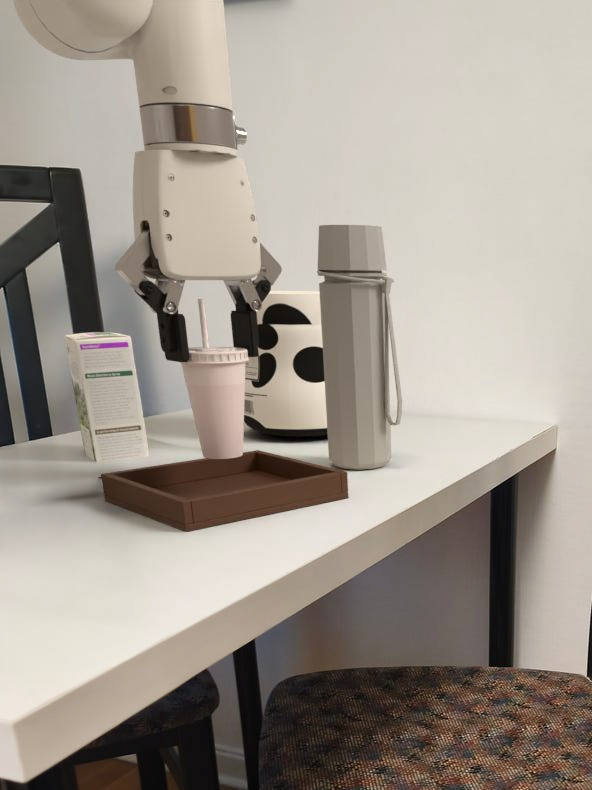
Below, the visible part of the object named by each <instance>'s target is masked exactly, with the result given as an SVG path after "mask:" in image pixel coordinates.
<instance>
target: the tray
mask: <svg viewBox="0 0 592 790" xmlns="http://www.w3.org/2000/svg"><path fill="white" fill-rule="evenodd" d="M100 477H101V485H102V492H103V499H104V501H105V502H108V503H110V504H113V505H116V506H119V507H121V508H122V509H123V508H124V509H126V510H129V511H130V512H131V511H132V512H133V513H137V514H139V515H142V516H145V517H147V518H150V519H152V520H155V521H157V522H160V523H162V524H165V525H168V526H170V527H173V528H175V529H177V530H181V531H184V532H191V531H195V530H201V529H205V528H206V529H207V528H210V527H215V526H220V525H225V524H229V523H230V524H231V523H235V522H238V521H239V522H240V521H245V520H249V519H253V518H258V517H263V516H268V515H272V514H277V513H283V512H286V511H293V510H296V509H301V508H306V507H311V506H317V505H320V504H326V503H330V502H335V501H340V500H344V499H348V498H349V485H348V484H349V481H348V480H349V479H348V472H347V471H345V470H341V469H336V468H333V467H328V466H325V465H321V464H316V463H312V462H308V461H303V460H300V459H296V458H291V457H289V456H284V455H279V454H275V453H271V452H268V451H263V450H259V449H256V450H250V451H243V455H242V456H240V457H236V458H229V459H209V458H205V457H203V458H198V459H197V458H196V459H191V460H185V461H183V460H182V461H176V462H171V463H163V464H157V465H150V466H144V467H138V468H132V469H125V470H117V471H112V472H111V471H110V472H105V473H101V474H100Z"/></svg>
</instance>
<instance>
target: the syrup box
mask: <svg viewBox="0 0 592 790" xmlns="http://www.w3.org/2000/svg"><path fill="white" fill-rule="evenodd" d="M63 338H64V342H65V348H66V349H65V350H66V354H67V355H66V356H67V361H68V367H69V372H70V377H71V384H72V389H73V393H74V400H75V404H76V411H77V416H78V423H79V428H80V434H81V439H82V445H83V451H84V455H86V456H87V457H88V458H90V460H93V461H94V462H96V463H99V462H108V461H109V462H110V461H111V462H112V461H120V460H121V461H122V460H130V459H137V458H139V459H141V458H147V457H150V451H149V444H148V436H147V431H146V425H145V424H146V423H145V418H144V412H143V405H142V397H141V393H140V386H139V381H138V373H137V367H136V362H135V361H136V360H135V355H134V350H133V342H132V337H131V335H127V334H122V333H118V332H111V331H109V332H108V331H107V332H105V331H92V332H90V331H89V332H79V333H71V334H64V337H63ZM97 478H98V479H101V476H98V477H97Z"/></svg>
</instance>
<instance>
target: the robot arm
mask: <svg viewBox="0 0 592 790" xmlns="http://www.w3.org/2000/svg"><path fill="white" fill-rule="evenodd" d="M13 3H14V8H15V12H16V14H17V16H18V18H19V20H20V22H21V24H22V26H23V28H25V29H24V30H26V32H27V33H28V34H29V35H30V36H31V37H32V38H33V40H35V41H36V42H37V43H38V44H39V45H40V46H42V47H43V48H44V49H46V50H48V51H49V52H51V53H53V54H55V55H57V56H59V57H62V58H65V59H70V60H76V61H104V60H106V61H107V60H108V61H109V60H110V61H111V60H132V61H133V66H134V67H133V69H134V76H135V83H136V92H137V99H138V100H137V101H138V108H139V116H140V125H141V133H142V140H143V148H144V150H139V151H138V150H137V151H135V152H134V159H133V160H134V161H133V173H132V214H133V216H132V217H133V233H134V241H133V242H132V244H130V246H129V248H128V249H127V250H126V251H125V253H123V255H122V256H121V257H120V259H119V260H118V261H117V262H116V264H115V266H114V270H115V272H116V273H117V274H118V275H119V276H120V277H121V278H122V280H123V281H125V282H126V283H127V285H128V286H130V287H131V288H132V290H133V291H134V292H135V293H136V295H137V296H138V297H139V298H141V299H142V301H143V302H145V304H146V305H148V306H149V309H150V310H151V312H152V313H154V314H156V318H157V327H158V334H159V335H158V336H159V342H160V343H159V344H160V348H161V350H162V352H164V358H165V360H166V361H171V362H176V363H180V362H187V361H188V360H189V349H188V348H189V341H188V331H187V324H186V317H185V315H184V314H183V313H179V305H180V302H181V298H182V296H183V295H182V294H183V290H184V287H185V283H186V281H223V283H224V286H225V287H226V290H227V291H228V294H229V296H230V298H231V300H232V302H233V305H234V306H235V310H231V311H230V325H231V335H232V344H233V346H232V347H236V348H244V349H247V350H248V357H257V356H258V345H259V335H258V323H257V312H258V311H260V310H261V308H262V302H263V301H264V299H265V298H266V296H267V295H268V294H269V292H270V291H272V290H271V289H272V286H274V284H275V283H276V281H277V279H279V277H280V275H281V273H282V266H281V264H280V263H279V262H278V261H277V259H275V258H274V257H273V255H272V254H271V253H270V252H269V250H267V249H266V247H264V245H263V244H262V243H261V241H260V234H259V226H258V220H257V219H258V217H257V213H256V206H255V202H254V201H255V200H254V196H253V192H252V187H251V183H250V179H249V174H248V171H247V168H246V164H245V160H244V158H243V157H241V156H238V153H237V151H238V145H245V144H246V143H247V138H248V137H247V132H246V131H247V130H245V128H244V127H240V126H238V125H236V117H235V116H234V109H233V98H232V97H233V96H232V86H231V73H230V63H229V50H228V40H227V39H228V38H227V28H226V26H227V25H226V16H225V15H226V14H225V5H224V0H13ZM148 278H149V279H151V280H155V282H153V281H151V280H149V279H148ZM254 278H255V279H254ZM252 279H253V280H252Z"/></svg>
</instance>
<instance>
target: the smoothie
mask: <svg viewBox="0 0 592 790" xmlns="http://www.w3.org/2000/svg"><path fill="white" fill-rule="evenodd" d="M197 304H198V313H199V324H200V331H201V340H202V341H201V342H202V346H193V347H191V346H188V349H189V360H188V361H187V362H179V363H180V365H181V368H182V373H183V379H184V382H185V386H186V389H187V394H188V398H189V403H190V406H191V411H192V415H193V420H194V423H195V428H196V431H197V436H198V440H199V445H200V449H201V454H202V457H203V458H209V459H229V458H236V457H240V456H242V455H243V452H244V435H245V434H244V428H245V422H244V399H245V365H246V361H248V360H249V359H248V350H247V349H244V348H236V347H234V346H210V342H209V341H210V340H209V333H208V331H209V330H208V323H207V313H206V312H207V311H206V303H205V298H198V299H197Z"/></svg>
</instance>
